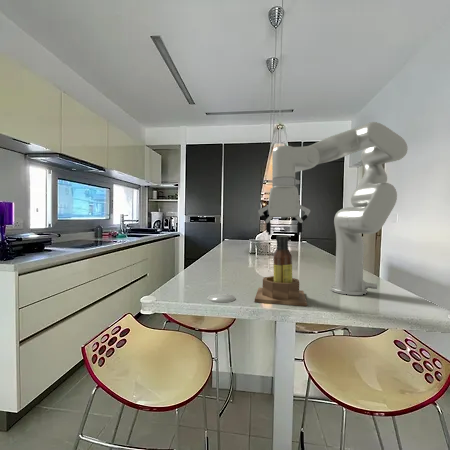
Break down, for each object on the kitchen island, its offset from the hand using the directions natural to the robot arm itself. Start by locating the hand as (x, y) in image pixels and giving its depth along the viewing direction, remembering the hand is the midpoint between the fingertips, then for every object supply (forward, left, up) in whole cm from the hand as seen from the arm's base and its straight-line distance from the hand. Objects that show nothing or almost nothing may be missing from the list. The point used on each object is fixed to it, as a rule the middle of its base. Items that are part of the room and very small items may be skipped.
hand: (283, 234), depth 97 cm
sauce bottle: (0, 0, -20) cm, 20 cm away
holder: (+1, 0, -21) cm, 21 cm away
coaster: (+20, +7, -22) cm, 30 cm away
